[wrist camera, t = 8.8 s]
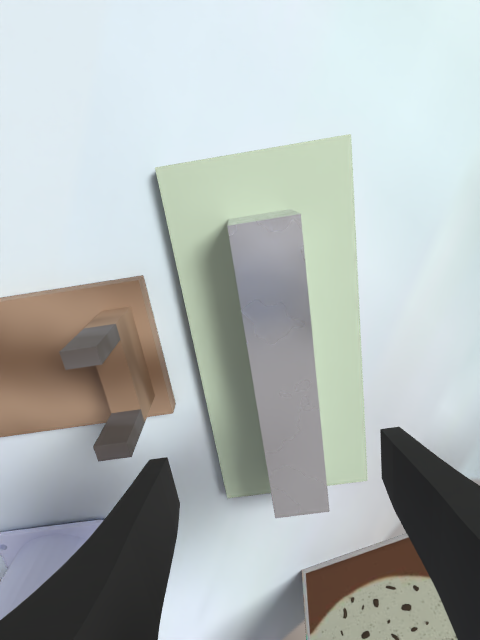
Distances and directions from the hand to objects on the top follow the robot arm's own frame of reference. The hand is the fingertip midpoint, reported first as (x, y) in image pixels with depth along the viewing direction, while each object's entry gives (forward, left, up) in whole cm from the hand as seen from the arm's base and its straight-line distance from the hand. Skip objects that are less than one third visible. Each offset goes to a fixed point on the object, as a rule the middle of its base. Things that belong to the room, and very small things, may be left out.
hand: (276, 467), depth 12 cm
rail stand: (+1, +13, -9) cm, 16 cm away
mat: (0, -1, -9) cm, 9 cm away
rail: (0, -1, -8) cm, 9 cm away
